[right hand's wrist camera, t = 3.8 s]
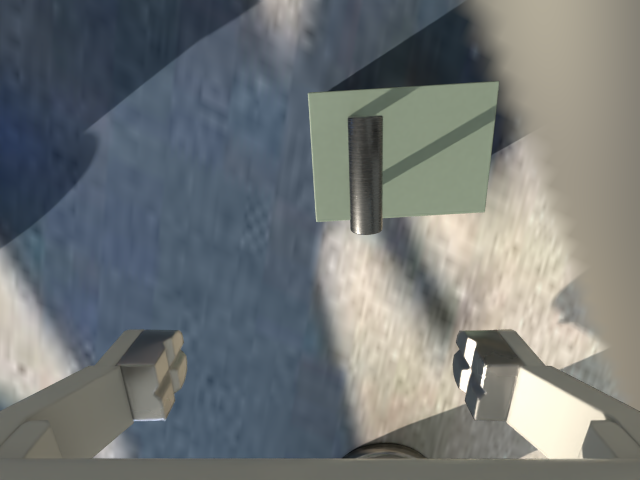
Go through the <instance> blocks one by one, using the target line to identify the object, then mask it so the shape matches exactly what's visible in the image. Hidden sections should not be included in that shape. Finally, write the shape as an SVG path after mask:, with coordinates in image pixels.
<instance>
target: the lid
mask: <svg viewBox="0 0 640 480" xmlns="http://www.w3.org/2000/svg"><path fill="white" fill-rule="evenodd" d="M498 90H499V81H491V82H475V83H459V84H443V85H426V86H410V87H394V88H378V89H361V90H345V91H329V92H313V93H308V99H309V115H310V130H311V146H312V162H313V177H314V193H315V209H316V222H323V221H340V220H350V224H351V231H352V232H353V233H356V234H361V235H371V234H376V233H379V232H381V231H382V218H392V217H409V216H427V215H444V214H461V213H478V212H485V205H486V196H487V187H488V178H489V170H490V161H491V152H492V143H493V134H494V125H495V116H496V107H497V99H498Z"/></svg>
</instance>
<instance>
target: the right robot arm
mask: <svg viewBox="0 0 640 480" xmlns="http://www.w3.org/2000/svg"><path fill="white" fill-rule="evenodd" d="M183 343H184V340H183V335H182V333H181V332H180V331H179V330H127V331H124V332H123V334H122V335H121V336H120V337H119V338H118V339H117V340H116V342H115V343H114V344H113V345H112V346H111V347H110V349H109V350H108V351H107V352H106V353H105V354H104V355H103V357H102V358H101V359H100V360H99V361H98V362H97V363H96V365H95V366H88V367H86V368H84V369H82V370H80V371H78V372H76V373H74V374H72V375H70V376H68V377H66V378H64V379H62V380H60V381H58V382H56V383H54V384H52V385H51V386H49V387H47V388H45V389H43V390H41V391H39V392H37V393H35V394H33V395H31V396H29V397H27V398H25V399H23V400H21V401H19V402H17V403H15V404H13V405H11V406H9V407H7V408H6V409H4V410H2V411H0V480H640V411H638V410H636V409H634V408H632V407H630V406H628V405H626V404H625V403H623V402H621V401H619V400H617V399H615V398H613V397H611V396H609V395H607V394H605V393H603V392H601V391H599V390H597V389H595V388H593V387H591V386H589V385H587V384H585V383H584V382H582V381H580V380H578V379H576V378H574V377H572V376H570V375H568V374H566V373H564V372H562V371H560V370H558V369H556V368H554V367H552V366H545V365H544V363H543V362H542V361H541V360H540V359H539V358H538V357H537V355H536V354H535V353H534V352H533V351H532V350H531V349H530V347H529V346H528V345H527V344H526V343H525V342H524V341H523V339H522V338H521V337H520V336H519V335H518V334H517V332H516V331H514V330H512V329H505V330H477V331H459V333H458V335H457V340H456V343H457V345H458V347H459V349H460V350H459V351H458V352H457V353H456V354H455V355H454V359H453V373H454V378H455V381H456V383H457V386H458V388H459V389H460V390H462V391H463V392H464V393H466V397H465V402H466V404H467V406H468V408H469V410H470V412H471V414H472V416H473V418H474V420H485V421H507V422H506V423H507V424H509V425H510V426H511V427H512V428H513V429H514V430H516V431H517V432H518V433H519V434H520V435H521V436H523V437H524V438H525V439H526V440H527V441H528V442H530V443H531V444H532V445H533V446H534V447H536V448H537V449H538V450H539V451H540V452H541V453H543V454H544V455H545V456H546V457H547V458H548V459H280V458H262V459H100V458H93V457H94V456H95V455H96V454H98V453H99V452H100V451H101V450H102V449H103V448H105V447H106V446H107V445H108V444H109V443H110V442H112V441H113V440H114V439H115V438H116V437H118V436H119V435H120V434H121V433H122V432H123V431H125V430H126V429H127V428H128V427H129V426H130V425H132V424H133V423H134V422H133V421H154V420H166V418H167V416H168V414H169V412H170V410H171V408H172V406H173V404H174V402H175V397H174V393H176V392H177V391H178V390H180V389H181V388H182V386H183V383H184V381H185V377H186V373H187V358H186V355H185V354H184V353H183V352H182V351H181V350H180V349H181V347H182V345H183Z"/></svg>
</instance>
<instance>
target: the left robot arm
mask: <svg viewBox="0 0 640 480" xmlns="http://www.w3.org/2000/svg"><path fill="white" fill-rule="evenodd" d="M342 459H426V458H425V457H424V456H423V455H421V454H420V453H419V452H417V451H415V450H413V449H411V448H408V447H405V446H402V445H397V444H374V445H369V446H365V447H362V448H359V449H356V450H354V451H352V452H350V453H349V454H347V455H346V456H344V457H343V458H342Z"/></svg>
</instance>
